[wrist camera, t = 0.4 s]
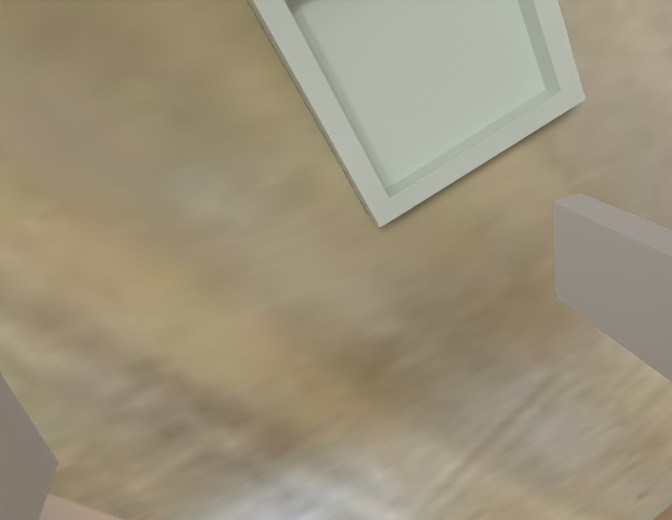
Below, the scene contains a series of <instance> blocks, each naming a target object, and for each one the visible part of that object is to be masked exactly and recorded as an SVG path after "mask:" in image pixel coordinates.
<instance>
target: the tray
mask: <svg viewBox="0 0 672 520" xmlns="http://www.w3.org/2000/svg"><path fill="white" fill-rule="evenodd" d="M247 1H248V3H249V4H250V6H251V8H252V10H253V11H254V13H255V15H256V17H257V19H258V20H259V22H260V24H261V26H262V27H263V29H264V31H265V33H266V35H267V36H268V38H269V40H270V42H271V43H272V45H273V47H274V49H275V51H276V52H277V54H278V56H279V58H280V59H281V61H282V63H283V65H284V66H285V68H286V70H287V72H288V74H289V75H290V77H291V79H292V81H293V82H294V84H295V86H296V88H297V90H298V91H299V93H300V95H301V97H302V98H303V100H304V102H305V104H306V106H307V107H308V109H309V111H310V113H311V114H312V116H313V118H314V120H315V121H316V123H317V125H318V127H319V129H320V130H321V132H322V134H323V136H324V137H325V139H326V141H327V143H328V145H329V146H330V148H331V150H332V152H333V153H334V155H335V157H336V159H337V161H338V162H339V164H340V166H341V168H342V169H343V171H344V173H345V175H346V176H347V178H348V180H349V182H350V184H351V185H352V187H353V189H354V191H355V192H356V194H357V196H358V198H359V200H360V201H361V203H362V205H363V207H364V208H365V210H366V212H367V214H368V215H369V216H370V218H371V219H372V220H373V221H374V222H375V223H376V224H377V225H378V226H379V227H380V228H381V227H382V226H384V225H385V224H387V223H389V222H390V221H392V220H393V219H395V218H397V217H398V216H400V215H401V214H403V213H405V212H406V211H408V210H409V209H411V208H413V207H414V206H416V205H417V204H419V203H421V202H422V201H424V200H425V199H427V198H429V197H430V196H432V195H433V194H435V193H437V192H438V191H440V190H441V189H443V188H445V187H446V186H448V185H449V184H451V183H453V182H454V181H456V180H457V179H459V178H461V177H462V176H464V175H465V174H467V173H469V172H470V171H472V170H473V169H475V168H477V167H478V166H480V165H481V164H483V163H485V162H486V161H488V160H489V159H491V158H493V157H494V156H496V155H497V154H499V153H501V152H502V151H504V150H506V149H507V148H509V147H510V146H512V145H514V144H515V143H517V142H518V141H520V140H522V139H523V138H525V137H526V136H528V135H530V134H531V133H533V132H534V131H536V130H538V129H539V128H541V127H542V126H544V125H546V124H547V123H549V122H550V121H552V120H554V119H555V118H557V117H558V116H560V115H562V114H563V113H565V112H566V111H568V110H570V109H571V108H573V107H574V106H576V105H578V104H579V103H581V102H582V101H584V100H586V99H585V95H584V92H583V88H582V85H581V81H580V77H579V74H578V70H577V67H576V63H575V60H574V56H573V53H572V49H571V45H570V42H569V38H568V35H567V31H566V28H565V24H564V21H563V17H562V13H561V10H560V6H559V3H558V0H247Z"/></svg>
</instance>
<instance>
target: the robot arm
mask: <svg viewBox="0 0 672 520" xmlns="http://www.w3.org/2000/svg"><path fill="white" fill-rule="evenodd" d="M553 234H554V276H555V297H557V298H558V299H559V300H561V301H562V302H563V303H565V304H566V305H568V306H569V307H570V308H572V309H573V310H574V311H576V312H577V313H578V314H580V315H581V316H583V317H584V318H585V319H587V320H588V321H589V322H591V323H592V324H593V325H595V326H596V327H598V328H599V329H600V330H602V331H603V332H604V333H606V334H607V335H609V336H610V337H611V338H613V339H614V340H615V341H617V342H618V343H619V344H621V345H622V346H624V347H625V348H626V349H628V350H629V351H630V352H632V353H633V354H634V355H636V356H637V357H639V358H640V359H641V360H643V361H644V362H645V363H647V364H648V365H650V366H651V367H652V368H654V369H655V370H656V371H658V372H659V373H660V374H662V375H663V376H665V377H666V378H667V379H669V380H670V381H671V382H672V230H671V229H669V228H666V227H664V226H661V225H659V224H656V223H654V222H651V221H649V220H646V219H644V218H641V217H639V216H637V215H634V214H632V213H629V212H627V211H624V210H622V209H619V208H617V207H614V206H612V205H609V204H607V203H605V202H602V201H600V200H597V199H595V198H592V197H590V196H587V195H585V194H582V193H578V194H575V195H572V196H569V197H565V198H562V199H559V200H556V201H553ZM57 465H58V460H57V459H56V457H55V456H54V454H53V453H52V451H51V450H50V448H49V447H48V445H47V444H46V442H45V441H44V439H43V438H42V436H41V434H40V433H39V431H38V430H37V428H36V427H35V425H34V424H33V422H32V421H31V419H30V418H29V416H28V415H27V413H26V411H25V410H24V408H23V407H22V405H21V404H20V402H19V401H18V399H17V398H16V396H15V395H14V393H13V392H12V390H11V389H10V387H9V385H8V384H7V382H6V381H5V379H4V378H3V376H2V375H1V373H0V520H39V517H40V514H41V511H42V508H43V505H44V502H45V500H46V497H47V494H48V491H49V488H50V485H51V482H52V479H53V477H54V474H55V471H56V468H57Z"/></svg>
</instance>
